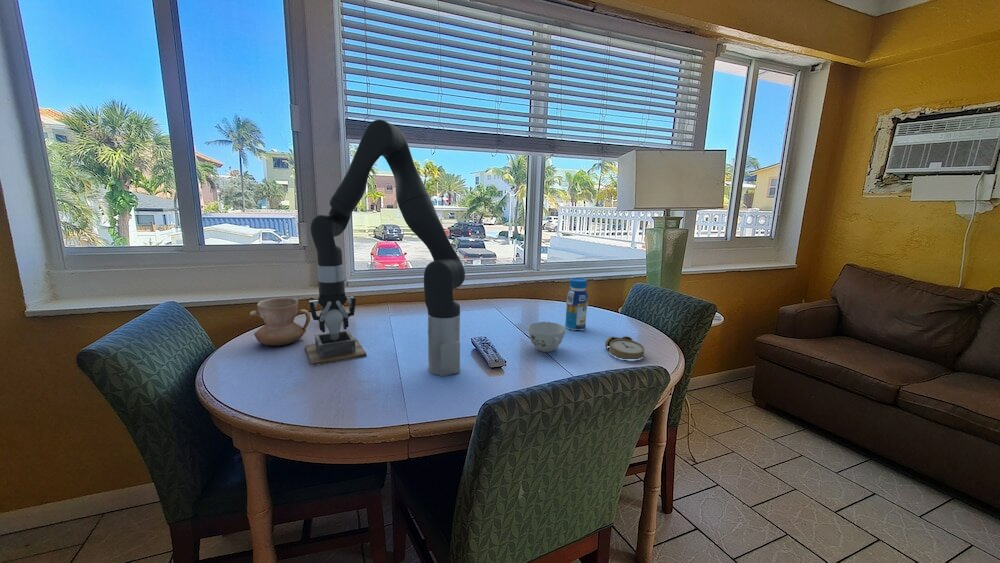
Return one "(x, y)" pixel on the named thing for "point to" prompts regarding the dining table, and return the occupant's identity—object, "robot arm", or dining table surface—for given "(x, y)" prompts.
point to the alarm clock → (625, 348)
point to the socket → (334, 348)
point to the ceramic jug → (279, 321)
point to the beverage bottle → (576, 304)
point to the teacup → (546, 335)
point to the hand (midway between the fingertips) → (334, 330)
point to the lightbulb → (334, 323)
